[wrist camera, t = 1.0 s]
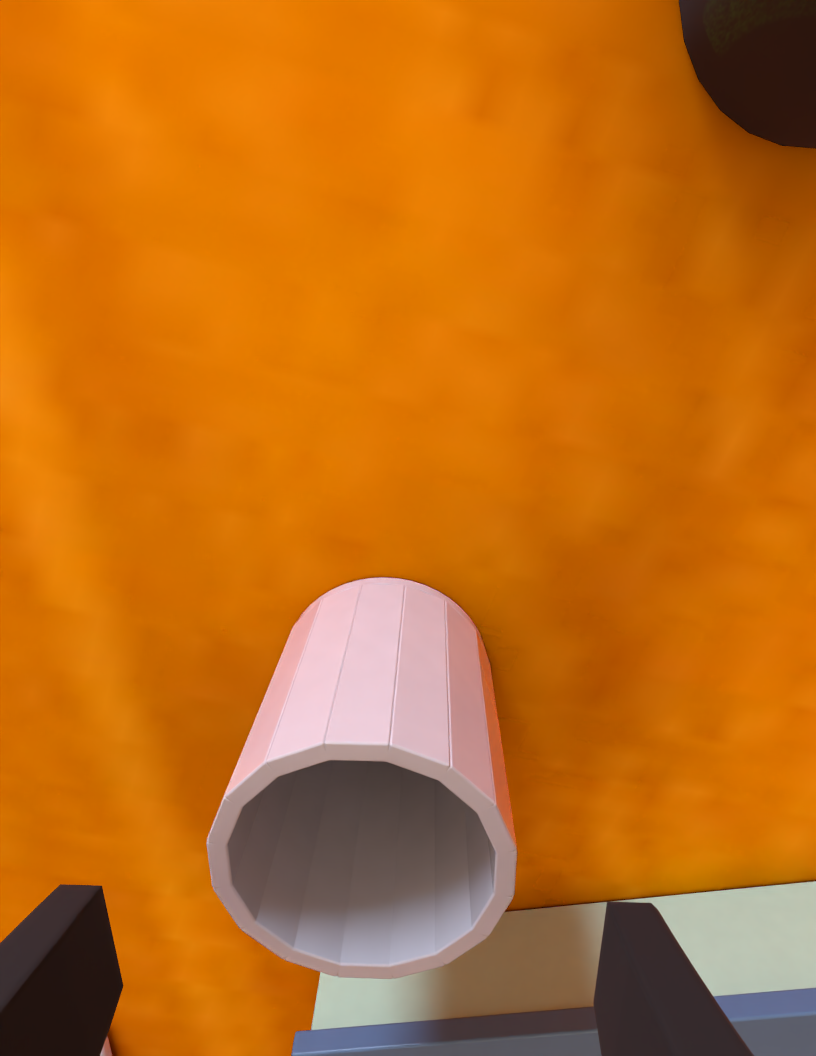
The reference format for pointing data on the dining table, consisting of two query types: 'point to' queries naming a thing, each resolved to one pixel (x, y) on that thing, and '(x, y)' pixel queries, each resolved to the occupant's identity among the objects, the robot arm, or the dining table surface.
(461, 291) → the dining table surface
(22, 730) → the dining table surface
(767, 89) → the cup
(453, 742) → the white cylindrical tumbler
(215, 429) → the dining table surface
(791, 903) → the blue hardcover book
